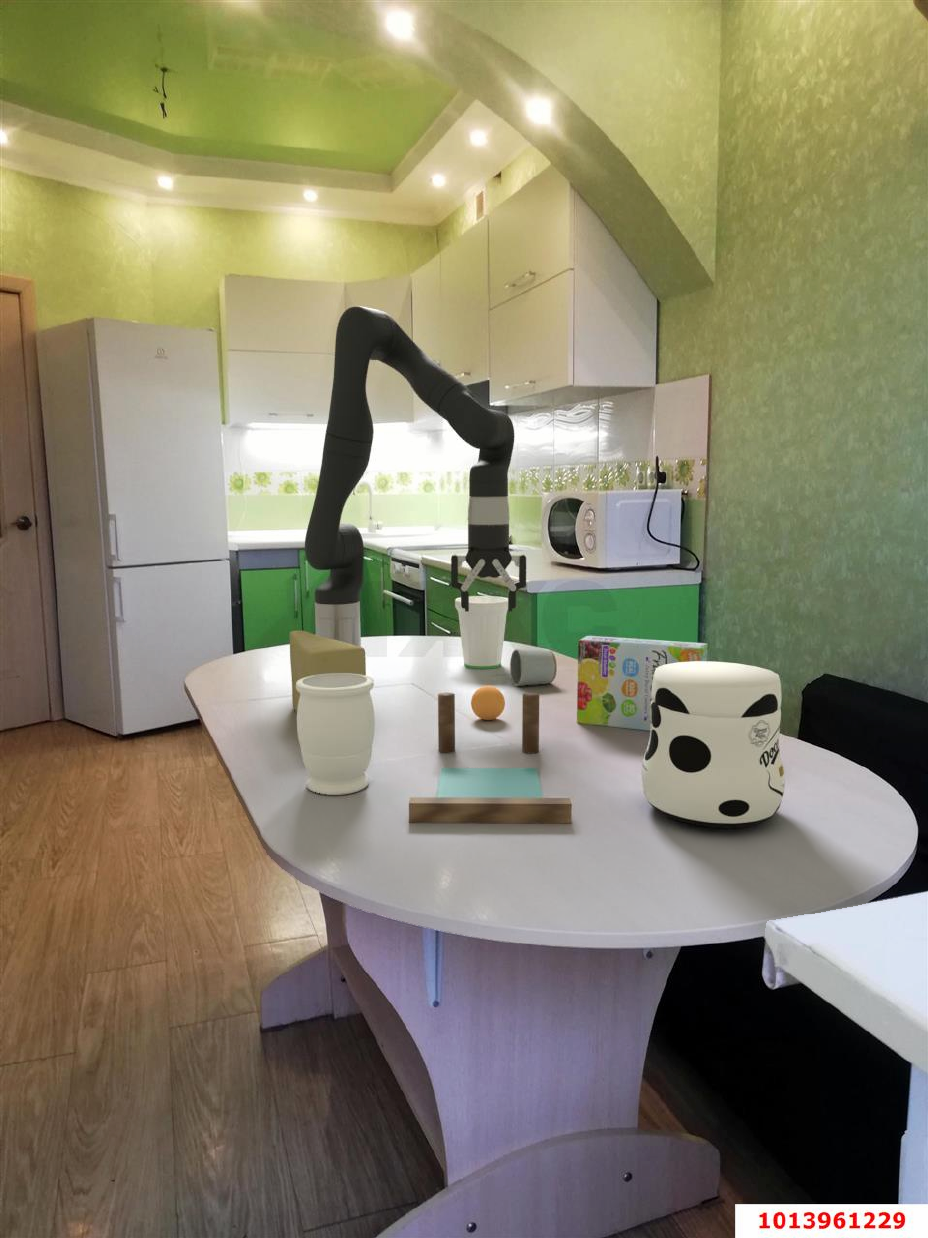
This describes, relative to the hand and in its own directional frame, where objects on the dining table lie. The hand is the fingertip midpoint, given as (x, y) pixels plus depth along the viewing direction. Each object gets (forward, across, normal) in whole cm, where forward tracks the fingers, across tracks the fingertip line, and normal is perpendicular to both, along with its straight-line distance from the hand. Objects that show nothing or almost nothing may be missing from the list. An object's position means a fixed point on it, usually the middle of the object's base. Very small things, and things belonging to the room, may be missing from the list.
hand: (488, 610), depth 159 cm
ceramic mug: (+18, +9, +19) cm, 28 cm away
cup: (+18, -1, +36) cm, 41 cm away
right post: (+18, +6, -28) cm, 34 cm away
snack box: (+18, +26, -14) cm, 35 cm away
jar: (+18, -22, -44) cm, 52 cm away
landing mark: (+18, -1, -44) cm, 47 cm away
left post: (+18, -7, -28) cm, 34 cm away
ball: (+15, 0, -10) cm, 18 cm away
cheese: (+18, -30, -10) cm, 37 cm away
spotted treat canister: (+18, +27, -53) cm, 62 cm away
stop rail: (+18, -1, -56) cm, 59 cm away
